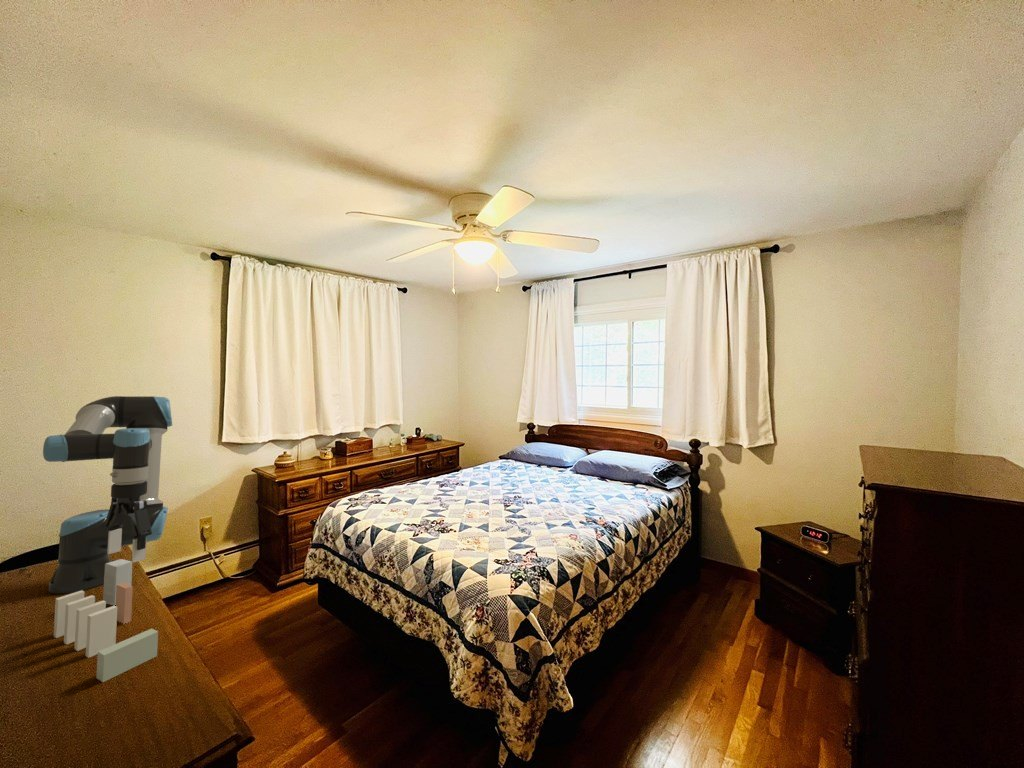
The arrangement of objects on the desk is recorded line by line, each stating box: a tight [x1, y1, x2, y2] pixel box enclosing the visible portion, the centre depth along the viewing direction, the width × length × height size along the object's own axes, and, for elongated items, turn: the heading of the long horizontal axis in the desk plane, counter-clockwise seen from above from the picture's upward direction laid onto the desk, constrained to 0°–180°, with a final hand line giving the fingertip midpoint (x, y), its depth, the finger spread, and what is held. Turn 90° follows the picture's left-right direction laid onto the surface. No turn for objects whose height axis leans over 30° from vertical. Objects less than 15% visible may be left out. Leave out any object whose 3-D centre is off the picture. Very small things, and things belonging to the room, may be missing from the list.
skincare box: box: [102, 558, 133, 606], centre depth 123 cm, size 6×4×12 cm
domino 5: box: [116, 583, 134, 625], centre depth 113 cm, size 2×5×10 cm, turn 66°
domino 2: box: [63, 594, 96, 645], centre depth 105 cm, size 2×5×10 cm, turn 156°
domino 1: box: [53, 590, 86, 639], centre depth 107 cm, size 2×5×10 cm, turn 156°
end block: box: [95, 628, 159, 683], centre depth 94 cm, size 3×10×6 cm, turn 156°
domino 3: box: [73, 599, 107, 652], centre depth 102 cm, size 2×5×10 cm, turn 156°
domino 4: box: [85, 605, 118, 659], centre depth 100 cm, size 2×5×10 cm, turn 156°
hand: (126, 556), depth 113 cm, fingers open, 13 cm apart
